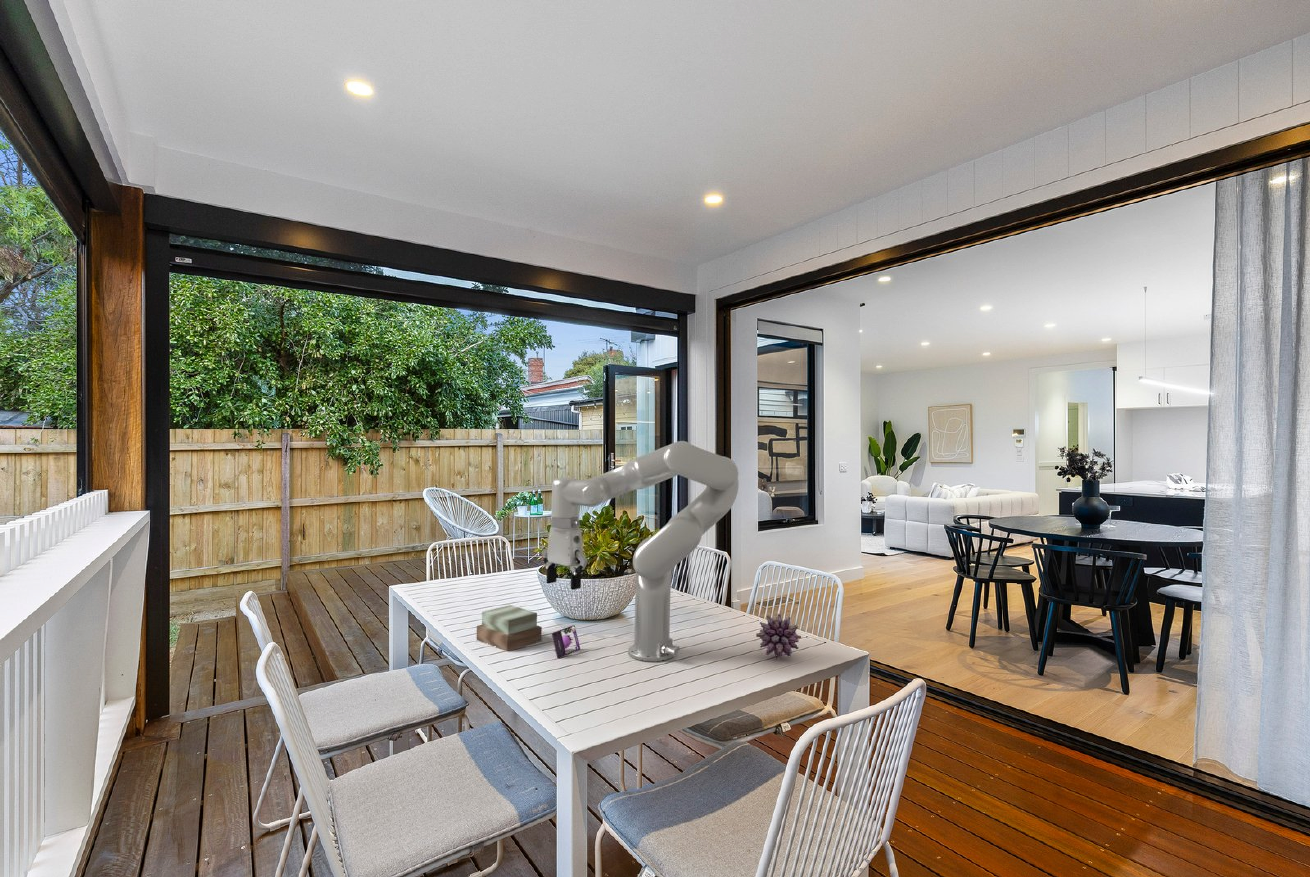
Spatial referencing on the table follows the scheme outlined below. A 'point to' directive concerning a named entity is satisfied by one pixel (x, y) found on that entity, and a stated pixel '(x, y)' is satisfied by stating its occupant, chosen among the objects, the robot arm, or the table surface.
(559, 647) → the purple product box
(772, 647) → the purple spiky ball
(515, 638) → the tower stack
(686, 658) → the table surface
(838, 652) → the table surface
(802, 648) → the table surface
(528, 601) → the table surface
